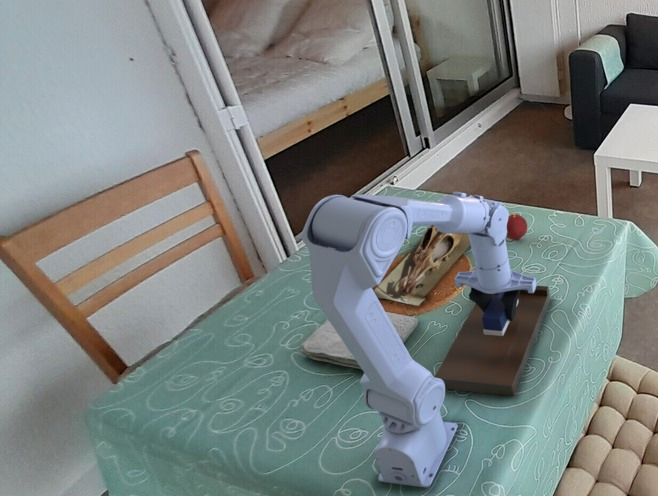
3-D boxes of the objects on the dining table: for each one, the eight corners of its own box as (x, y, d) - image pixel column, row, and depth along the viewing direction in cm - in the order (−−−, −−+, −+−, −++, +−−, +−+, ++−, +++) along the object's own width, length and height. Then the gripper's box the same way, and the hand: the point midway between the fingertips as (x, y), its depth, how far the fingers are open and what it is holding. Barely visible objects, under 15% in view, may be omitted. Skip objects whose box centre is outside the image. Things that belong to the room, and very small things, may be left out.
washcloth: (344, 310, 102) (340, 299, 101) (422, 324, 99) (419, 312, 98) (297, 358, 92) (292, 347, 91) (383, 375, 89) (378, 363, 87)
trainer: (503, 336, 90) (500, 320, 88) (483, 334, 90) (480, 318, 88) (518, 301, 97) (516, 286, 96) (501, 300, 98) (498, 284, 96)
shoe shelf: (514, 396, 85) (511, 380, 83) (436, 388, 86) (431, 372, 84) (550, 300, 104) (548, 286, 102) (486, 295, 106) (483, 281, 104)
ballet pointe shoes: (485, 206, 125) (419, 283, 100) (488, 227, 128) (425, 308, 103) (435, 199, 127) (359, 273, 103) (440, 220, 130) (367, 297, 105)
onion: (502, 236, 124) (498, 209, 120) (525, 230, 126) (521, 203, 123) (507, 249, 119) (503, 222, 116) (531, 243, 121) (527, 216, 118)
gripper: (538, 247, 90) (545, 303, 96) (462, 241, 92) (473, 297, 98) (525, 274, 84) (534, 332, 90) (444, 267, 86) (457, 325, 92)
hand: (501, 316), depth 94 cm, fingers closed on trainer, 3 cm apart
